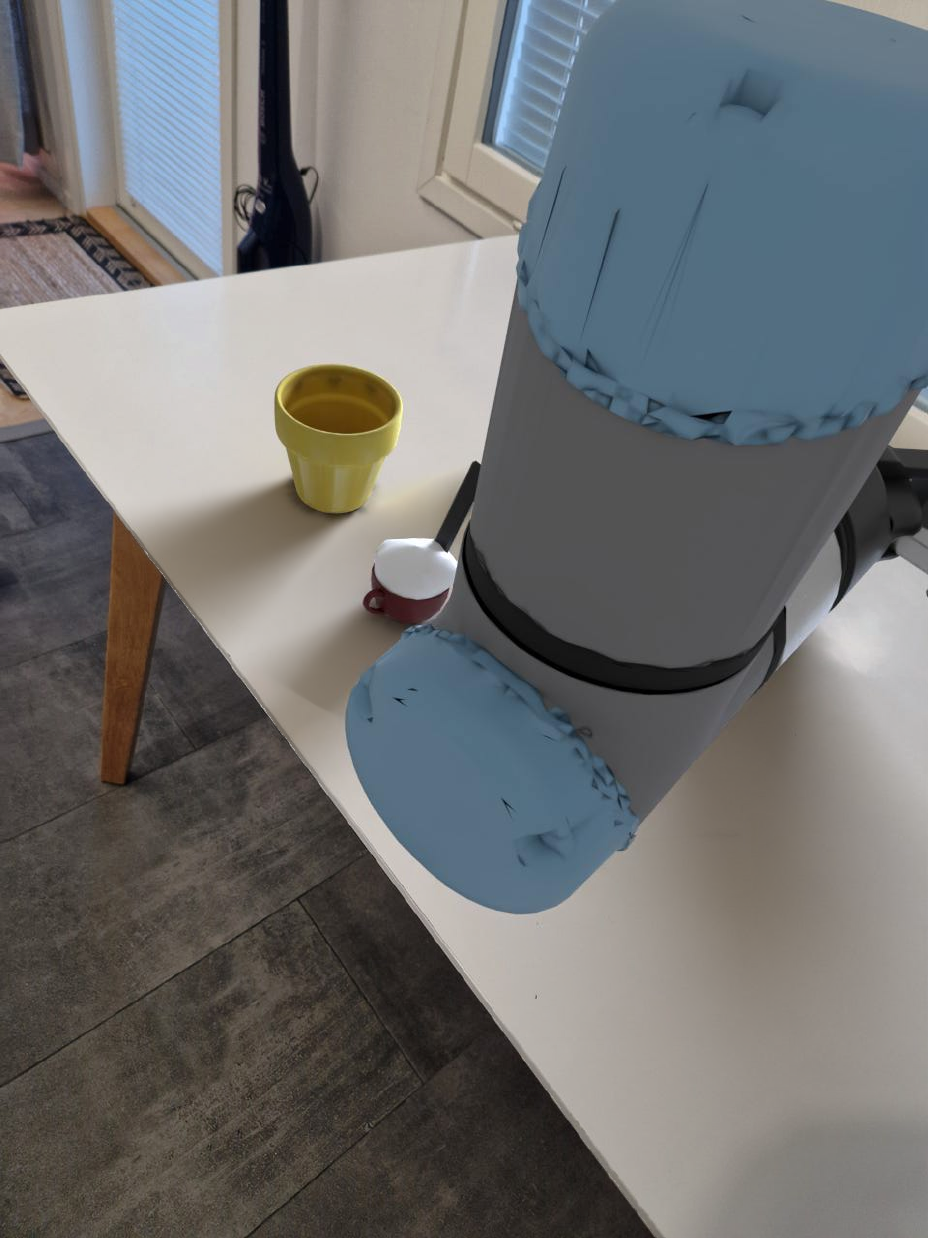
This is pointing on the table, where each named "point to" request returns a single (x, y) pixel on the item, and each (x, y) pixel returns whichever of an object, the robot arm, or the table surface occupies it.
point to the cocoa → (420, 565)
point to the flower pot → (336, 432)
